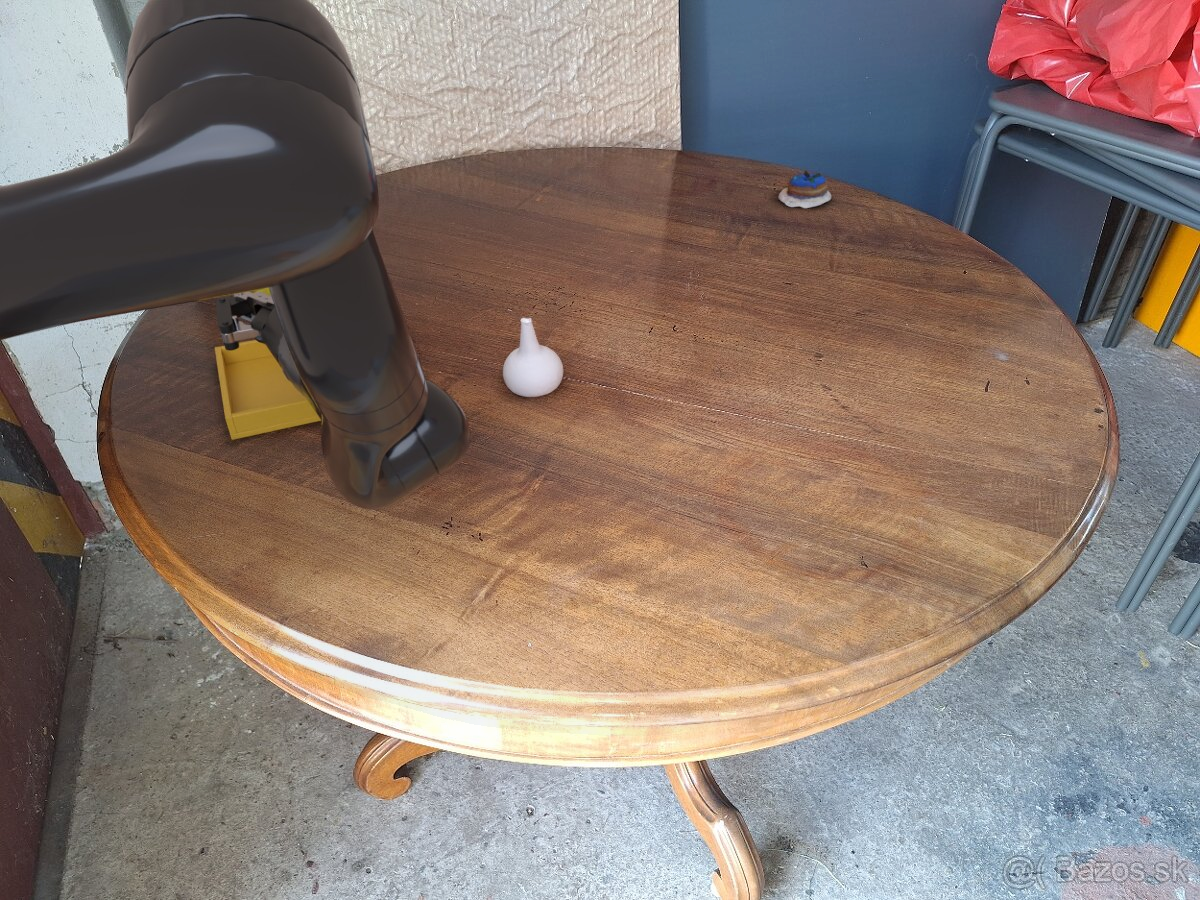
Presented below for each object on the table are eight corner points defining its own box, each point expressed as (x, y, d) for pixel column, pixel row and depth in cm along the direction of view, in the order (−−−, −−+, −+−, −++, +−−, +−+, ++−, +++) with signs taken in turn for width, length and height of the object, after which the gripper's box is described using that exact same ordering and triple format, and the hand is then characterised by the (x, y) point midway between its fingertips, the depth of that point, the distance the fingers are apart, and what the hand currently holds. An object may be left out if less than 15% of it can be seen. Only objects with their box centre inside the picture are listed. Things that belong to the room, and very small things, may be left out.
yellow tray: (231, 440, 86) (225, 418, 84) (220, 368, 96) (214, 347, 95) (379, 408, 90) (375, 386, 89) (353, 342, 101) (349, 322, 99)
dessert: (818, 182, 139) (829, 158, 133) (830, 218, 137) (842, 197, 131) (769, 189, 138) (779, 166, 132) (780, 226, 136) (791, 205, 130)
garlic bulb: (573, 377, 95) (572, 310, 90) (545, 407, 91) (542, 338, 86) (522, 363, 97) (518, 297, 93) (492, 392, 93) (486, 324, 88)
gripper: (396, 289, 78) (330, 225, 89) (227, 334, 71) (180, 259, 83) (407, 364, 82) (343, 294, 94) (249, 412, 76) (202, 331, 87)
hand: (267, 278), depth 88 cm, fingers closed on lemon, 5 cm apart
